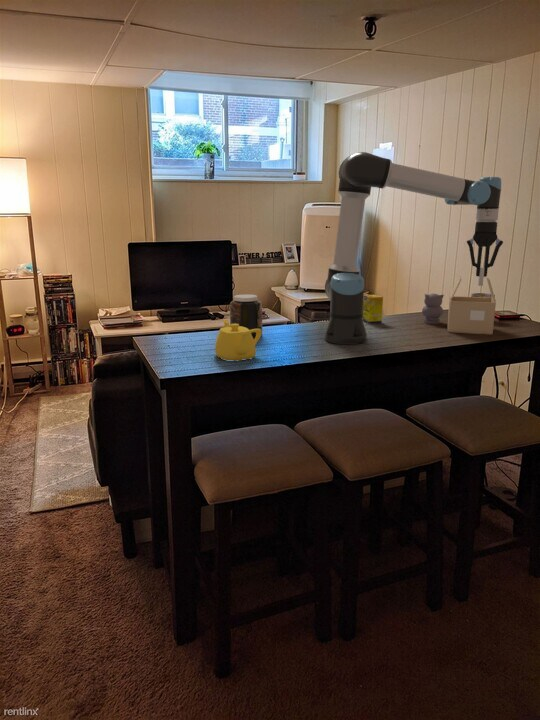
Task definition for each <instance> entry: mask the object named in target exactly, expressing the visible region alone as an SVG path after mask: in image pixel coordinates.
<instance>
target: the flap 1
mask: <svg viewBox="0 0 540 720" xmlns="http://www.w3.org/2000/svg"><path fill="white" fill-rule="evenodd" d="M457 277H458V278H457V279H456V282H455V283H454V286H453V287H452V290H451V292H450V294H449V299H450V298H451V300H452V298H453V296H455V294H456V292H457V289H458V288H459V286H460V283H461V282H462V277H461V275H459V276H457Z"/></svg>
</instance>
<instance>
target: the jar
mask: <svg viewBox="0 0 540 720" xmlns="http://www.w3.org/2000/svg"><path fill="white" fill-rule="evenodd" d="M233 297H234V299H233V300H232V301H230V303H229V326H230V325H231V324H239V326H242V327H245V328H248V329H249V330H252V329H261V330H262V331H263V304H262V301H261V300H258V296H257V295H256V294H237V295H234V296H233ZM230 327H231V326H230ZM251 335H252V337H253V339H255V337H256V332H252V333H251ZM262 336H263V333H262V334H261V337H262Z"/></svg>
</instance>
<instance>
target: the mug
mask: <svg viewBox="0 0 540 720" xmlns="http://www.w3.org/2000/svg"><path fill="white" fill-rule="evenodd" d="M495 295H496V294H494V297H495ZM470 297H486V298H492V296H491V293H486V292H485V293H484V292H475V293H473V292H472V293H471V295H470ZM495 298H496V297H495Z"/></svg>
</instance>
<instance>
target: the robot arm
mask: <svg viewBox="0 0 540 720" xmlns="http://www.w3.org/2000/svg"><path fill="white" fill-rule="evenodd" d="M338 179H339V182H338V190H337V193H338V194H339V195H340V196H341V198H340V199H341V201H340V207H339V208H340V209H339V215H338V217H339V218H338V224H337V233H336V241H335V249H334V256H333V263H332V264H331V265H330V266H328V272H327V279H326V280H325V284H324V292H325V295H326V296H327V298H328V299H329V301H330V306H329V307H330V308H329V309H330V310H329V313H330V314H329V317H330V318H329V320H328V323H327V326H326V329H325V332H324V340H325V341H326V342H329V343H332V344H338V345H339V344H340V345H358V344H363V343H365V342H367V339H368V337H367V336H368V335H367V330H366V325H365V321H363V305H364V293H365V279H364V277H363V276H362V275H361V274H360V272H361V271H360V269H359V268H358V266H357V263H358V254H359V250H360V241H361V232H362V226H363V219H364V211H365V205H366V199H368V198H369V197H370V196H371V191H372V188H376V189H381V190H383V189H384V188H386V187H388V188H391V189H393V188H394V189H398V190H400V191H401V190H402V191H407V192H412V193H416V194H419V195H426V196H431V197H436V198H440V199H444V202H445V204H446V205H453V206H456V205H458V206H459V205H464V206H465V205H466V206H468V205H469V206H471V205H474V206H476V216H475V220H476V221H475V226H474V234H473V236H472V237H471V238H470V239H467V240H466V243H467V245H468V249H469V255H470V256H469V257H470V260H471V265H472V267H475V268H476V270H475V277H478V281H477V283H478V284H477V285H478V286H479V287H481V286H484V279H485V278H486V276H487V277H488V269H489V268H492V267H494V264H495V262H496V260H497V256H498V253H499V251H500V248H501V246H502V245H503V244H504V241H503V240H502V239H499V238H498V234H497V232H498V231H497V230H498V220H499V212H500V211H499V209H500V200H501V191H502V178H501V177H499V176H483V177H482V176H481V177H480V178H479V180H477V181H476V180H471V179H465V178H462V177H457V176H454V175H447V174H443V173H439V172H436V171H435V172H434V171H429V170H425V169H422V168H416V167H412V166H407V165H402V164H397V163H394V162H392V159H390V158H387V157H386V158H385V157H382V156H378V155H376V154H372V153H370V152H365V151H359V152H356V153H353V154H350V155H349V156H346V157H345V159H344V160H343V161H342V162H341V164H340V166H339V169H338ZM474 243H475V244H476V246H477V248H478V249H477V259H476V258H475V252H474V247H473V244H474ZM494 244H495V247H494V250H493V252H492V255H491V258H490V250H491V247H492V245H494ZM484 247H485V249H484V250H485V253H484V262H483V267H482V266H481V264H482V258H483V257H482V256H483V255H482V253H483V248H484ZM476 260H477V261H476ZM489 260H490V261H489Z"/></svg>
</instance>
